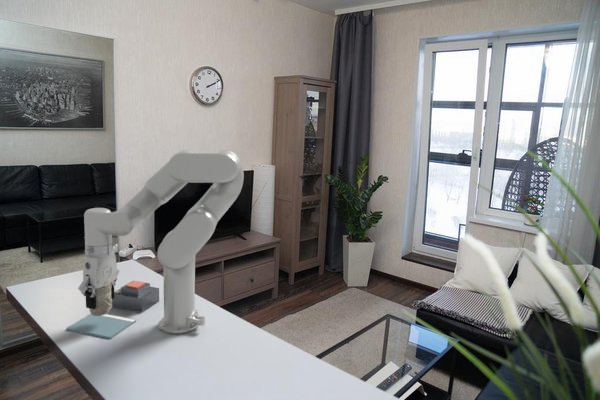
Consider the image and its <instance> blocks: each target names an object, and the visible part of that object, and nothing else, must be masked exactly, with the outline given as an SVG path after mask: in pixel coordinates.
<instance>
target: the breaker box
mask: <svg viewBox="0 0 600 400" xmlns="http://www.w3.org/2000/svg"><path fill="white" fill-rule="evenodd" d="M133 281H134V280H132V281H130V282H128V283H126V284H125V285H123V286H121V287H120V288H119V289H118V290H114V296H115V298H114V299H111V301H112V303H111V304H112V307H111V308H114V307H115V309H120V308H121V309H120V310H125V309H126V311H129V312H137V313H140V314H141V313H144V312H145V311H147V310H149V309H150V308H152V306H154V305H156V304H157V303H160V287H155V286H151V283H150V282H144V281H143V282H144V283H145V285H144V286H142V287H140V288H139V289H133V288H128V287H126V285H128V284H129V283H131V282H133ZM137 281H138V280H137ZM138 282H140V281H138Z"/></svg>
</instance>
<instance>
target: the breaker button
mask: <svg viewBox="0 0 600 400" xmlns="http://www.w3.org/2000/svg"><path fill="white" fill-rule="evenodd" d="M132 281H133V282H132ZM132 281H130V282H131V283H130V282H128V283H129V284H128V283H127V284H128V285H126V284H125V285H126V287H128V288H133V289H139V288H140V287H142V286H144V285H145V283H146V282H145V283H144V281H139V282H138V280H132Z"/></svg>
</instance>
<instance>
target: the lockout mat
mask: <svg viewBox="0 0 600 400" xmlns="http://www.w3.org/2000/svg"><path fill="white" fill-rule="evenodd" d="M136 322H137V319H134V318H129V317H124V316H118V315H113V314H109V313H107V314H105V315H102V316H94V315H92V314H91V313H90V314H89V315H87V316H84V317H82V318H81V319H80V320H77V321H76V322H74V323H72V324H71V325H69V326H67V327H66V331H71V332H75V333H81V334H84V335H85V334H86V335H90V336H95V337H100V338H105V339H109V340H111V339H113V338H114V337H116V336H117V335H118V334H120V333H121V332H123V331H125V330H126V329H128V328H129V327H130V326H132V325H133V324H135V323H136Z"/></svg>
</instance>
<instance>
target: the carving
mask: <svg viewBox="0 0 600 400" xmlns="http://www.w3.org/2000/svg"><path fill="white" fill-rule="evenodd" d="M105 283H106V284H105ZM90 284H91V283H90ZM104 284H105V285H103V287H101V288H99V289H96V292H95V295H94V296H96V309H90V308H88V309H89V312H90V314H92V315H94V316H102V315H105V314H109V312H110V311H111V309H112V308H113V307H112V299H111V287H112V285H111V283H110V281H109V280H107V281H106V282H104ZM90 286H92V285H90ZM89 291H90V292H91V291H92V288H90V290H89Z"/></svg>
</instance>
